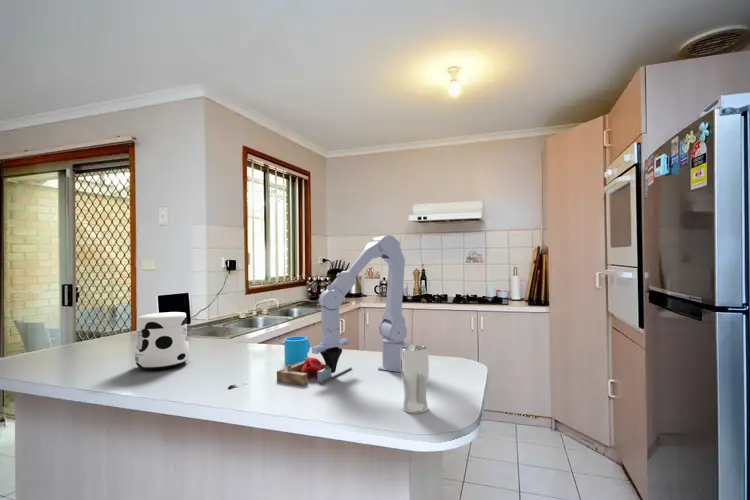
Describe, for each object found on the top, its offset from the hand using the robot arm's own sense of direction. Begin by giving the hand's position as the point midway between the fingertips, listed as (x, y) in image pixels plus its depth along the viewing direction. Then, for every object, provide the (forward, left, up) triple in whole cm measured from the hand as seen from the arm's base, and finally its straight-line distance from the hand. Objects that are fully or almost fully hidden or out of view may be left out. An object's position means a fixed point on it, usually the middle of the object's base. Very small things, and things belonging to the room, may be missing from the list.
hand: (331, 372), depth 127 cm
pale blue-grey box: (0, +4, -1) cm, 4 cm away
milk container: (+62, +13, -2) cm, 64 cm away
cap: (+6, +2, -2) cm, 7 cm away
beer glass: (-34, +13, -2) cm, 36 cm away
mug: (+22, -13, -2) cm, 26 cm away
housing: (+6, +1, -1) cm, 6 cm away
